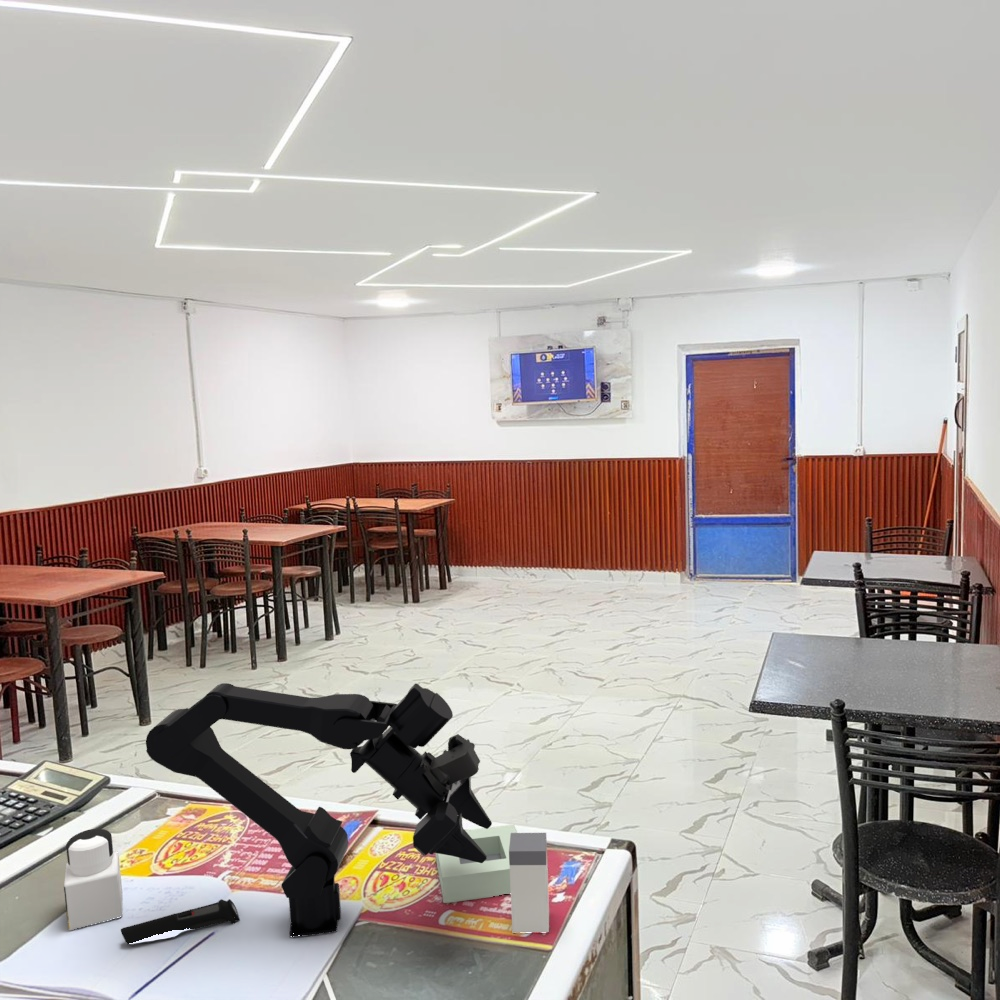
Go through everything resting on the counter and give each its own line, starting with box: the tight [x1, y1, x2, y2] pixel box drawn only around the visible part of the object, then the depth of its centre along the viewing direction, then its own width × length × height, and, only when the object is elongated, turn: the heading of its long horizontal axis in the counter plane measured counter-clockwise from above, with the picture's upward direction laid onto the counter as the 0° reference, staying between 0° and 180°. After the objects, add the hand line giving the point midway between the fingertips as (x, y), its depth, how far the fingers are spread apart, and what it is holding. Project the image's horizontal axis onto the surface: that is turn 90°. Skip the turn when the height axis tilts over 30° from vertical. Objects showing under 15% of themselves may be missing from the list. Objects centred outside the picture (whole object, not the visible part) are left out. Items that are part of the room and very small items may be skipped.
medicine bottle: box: [63, 828, 124, 931], centre depth 129 cm, size 7×7×12 cm
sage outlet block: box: [434, 824, 518, 904], centre depth 135 cm, size 13×13×4 cm
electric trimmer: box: [120, 898, 240, 945], centre depth 124 cm, size 4×16×3 cm, turn 113°
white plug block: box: [509, 832, 550, 934], centre depth 122 cm, size 5×5×12 cm
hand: (487, 842), depth 122 cm, fingers open, 9 cm apart
